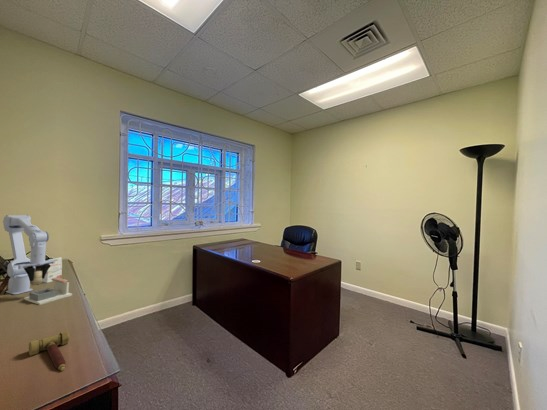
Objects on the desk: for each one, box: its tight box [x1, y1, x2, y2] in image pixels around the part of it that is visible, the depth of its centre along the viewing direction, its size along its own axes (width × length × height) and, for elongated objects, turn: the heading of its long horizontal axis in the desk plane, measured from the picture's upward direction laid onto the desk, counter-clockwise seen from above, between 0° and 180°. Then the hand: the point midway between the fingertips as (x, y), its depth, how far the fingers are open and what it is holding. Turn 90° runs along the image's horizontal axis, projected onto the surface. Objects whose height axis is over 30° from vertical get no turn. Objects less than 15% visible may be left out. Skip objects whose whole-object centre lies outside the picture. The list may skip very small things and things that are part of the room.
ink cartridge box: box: [42, 256, 63, 283], centre depth 152 cm, size 9×5×15 cm, turn 168°
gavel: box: [28, 330, 70, 372], centre depth 79 cm, size 21×5×10 cm
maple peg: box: [30, 269, 43, 286], centre depth 126 cm, size 4×4×7 cm
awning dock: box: [23, 277, 73, 306], centre depth 126 cm, size 14×14×8 cm
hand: (36, 279), depth 126 cm, fingers closed on maple peg, 4 cm apart
